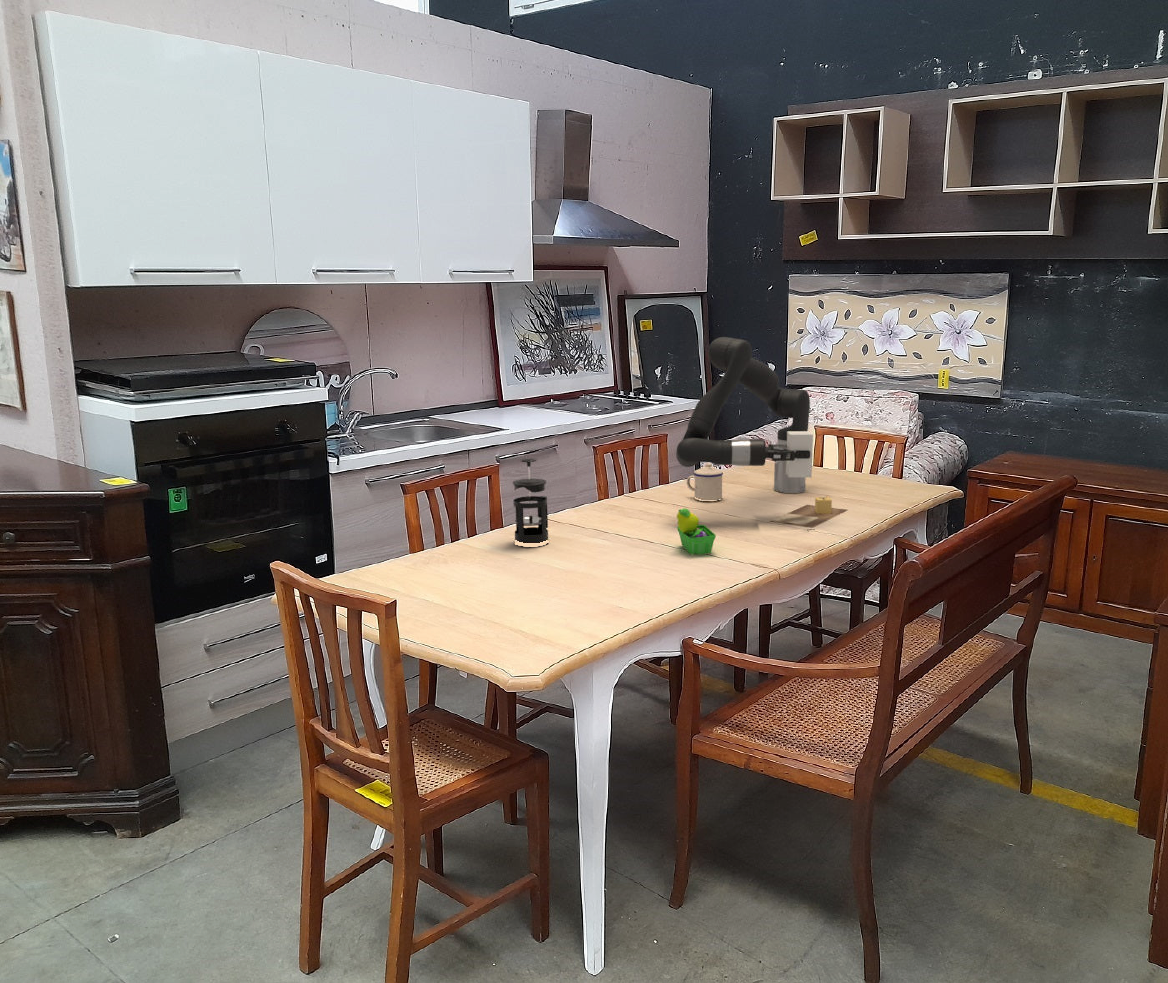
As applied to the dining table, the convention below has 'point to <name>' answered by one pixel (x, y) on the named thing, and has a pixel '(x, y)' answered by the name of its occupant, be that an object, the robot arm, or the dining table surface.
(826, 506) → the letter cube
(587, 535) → the dining table surface
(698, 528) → the fruit basket
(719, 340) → the robot arm
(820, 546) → the dining table surface
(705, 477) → the teacup with lid
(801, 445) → the white rounded block
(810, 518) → the board
